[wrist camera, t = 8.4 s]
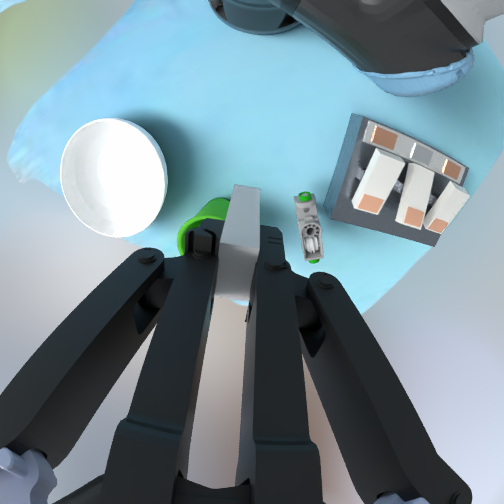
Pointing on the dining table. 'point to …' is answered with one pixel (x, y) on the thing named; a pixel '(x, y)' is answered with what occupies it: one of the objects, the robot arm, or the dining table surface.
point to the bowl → (114, 177)
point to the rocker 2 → (415, 196)
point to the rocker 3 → (446, 208)
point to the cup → (210, 210)
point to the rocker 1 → (377, 181)
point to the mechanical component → (309, 227)
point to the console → (411, 151)
